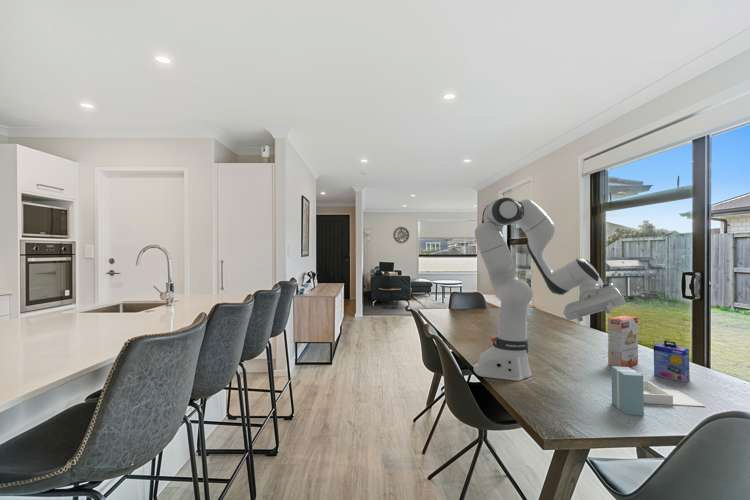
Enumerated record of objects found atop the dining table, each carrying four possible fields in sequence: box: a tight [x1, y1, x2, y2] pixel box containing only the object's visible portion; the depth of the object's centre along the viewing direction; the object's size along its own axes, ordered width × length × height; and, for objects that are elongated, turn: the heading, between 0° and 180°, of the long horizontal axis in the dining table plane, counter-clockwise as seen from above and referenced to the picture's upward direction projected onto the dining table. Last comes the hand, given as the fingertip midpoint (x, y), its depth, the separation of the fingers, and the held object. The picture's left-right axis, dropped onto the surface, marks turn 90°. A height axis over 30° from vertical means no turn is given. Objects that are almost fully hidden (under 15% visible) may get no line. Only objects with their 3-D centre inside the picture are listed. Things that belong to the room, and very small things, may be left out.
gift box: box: [610, 366, 645, 417], centre depth 107 cm, size 5×8×12 cm, turn 170°
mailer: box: [643, 380, 706, 408], centre depth 116 cm, size 19×13×3 cm
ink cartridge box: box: [653, 340, 691, 383], centre depth 134 cm, size 10×6×14 cm, turn 34°
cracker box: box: [607, 315, 639, 368], centre depth 150 cm, size 14×6×21 cm, turn 119°
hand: (593, 315), depth 122 cm, fingers open, 8 cm apart
